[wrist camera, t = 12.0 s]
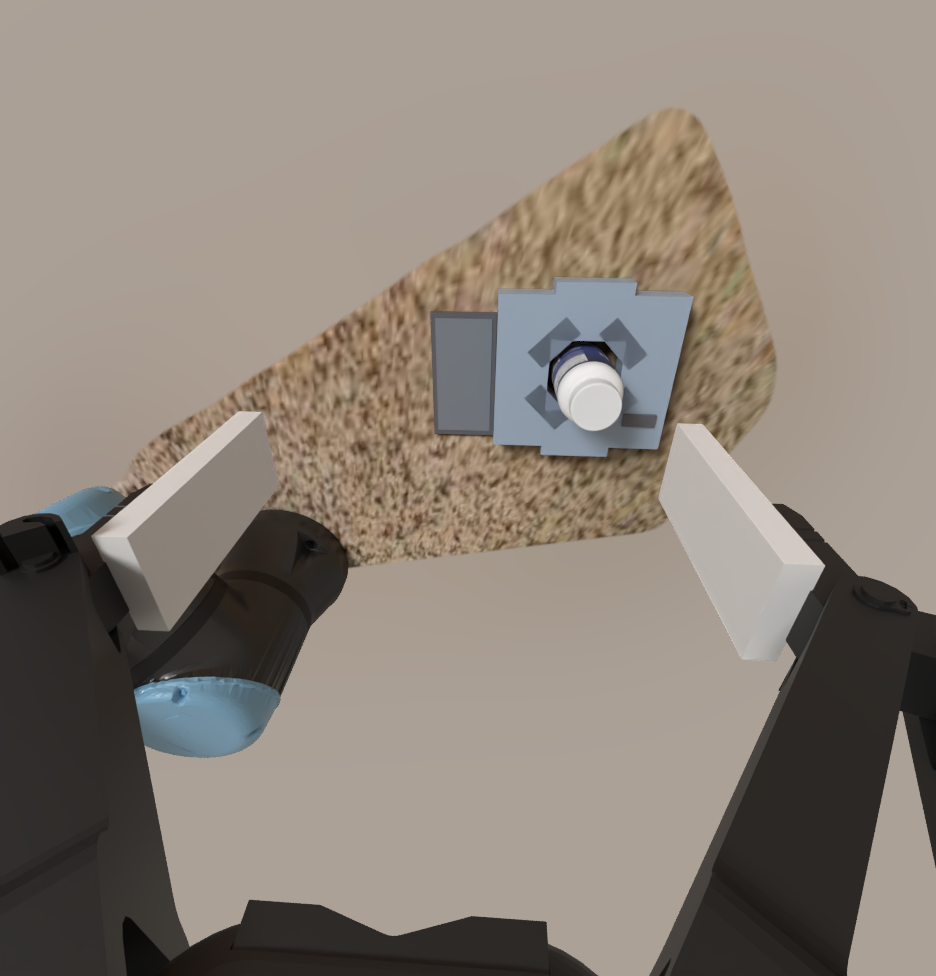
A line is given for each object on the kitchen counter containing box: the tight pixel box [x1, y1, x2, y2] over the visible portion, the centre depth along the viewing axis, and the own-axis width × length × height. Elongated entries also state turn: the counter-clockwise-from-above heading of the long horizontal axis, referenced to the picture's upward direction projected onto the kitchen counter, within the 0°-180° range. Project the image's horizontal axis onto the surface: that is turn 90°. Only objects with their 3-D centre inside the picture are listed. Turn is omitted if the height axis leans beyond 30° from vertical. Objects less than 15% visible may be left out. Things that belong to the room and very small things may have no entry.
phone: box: [430, 311, 497, 435], centre depth 47 cm, size 12×6×1 cm, turn 0°
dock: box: [493, 277, 693, 457], centre depth 45 cm, size 16×16×3 cm
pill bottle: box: [551, 342, 624, 431], centre depth 42 cm, size 5×5×10 cm
